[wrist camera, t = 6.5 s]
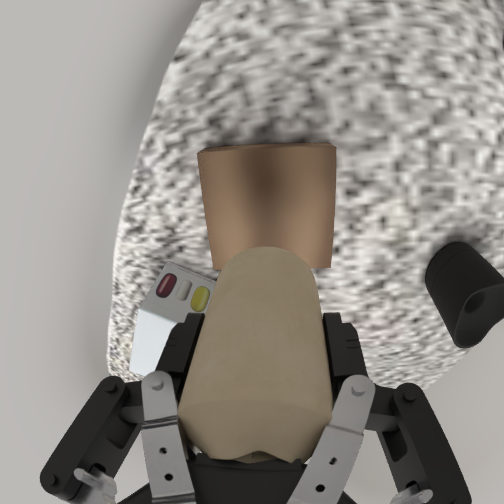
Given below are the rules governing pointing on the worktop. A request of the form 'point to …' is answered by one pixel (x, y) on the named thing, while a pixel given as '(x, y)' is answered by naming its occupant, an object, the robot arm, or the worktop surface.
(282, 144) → the walnut pedestal
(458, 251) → the pen holder
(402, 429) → the robot arm
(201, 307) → the supplement box
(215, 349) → the candle
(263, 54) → the worktop surface
